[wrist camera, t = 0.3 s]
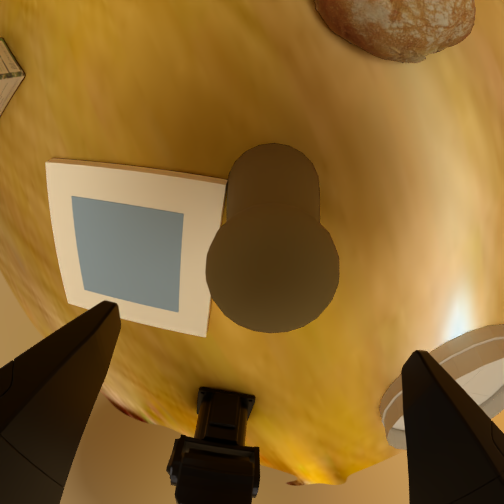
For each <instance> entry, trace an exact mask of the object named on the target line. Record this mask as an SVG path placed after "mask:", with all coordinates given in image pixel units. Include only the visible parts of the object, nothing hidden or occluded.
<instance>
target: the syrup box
mask: <svg viewBox="0 0 504 504" xmlns="http://www.w3.org/2000/svg"><path fill="white" fill-rule="evenodd" d="M24 77H25V74H24V73H23V71H22V69H21V68H20V66H19V65H18V63H17V62H16V60H15V58H14V57H13V55H12V54H11V52H10V50H9V49H8V47H7V45H6V44H5V42H4V40H3V39H2V38H0V115H1V114H2V112H3V110H4V109H5V107H6V105H7V104H8V102H9V100H10V99H11V97H12V95H13V94H14V92H15V90H16V89H17V87H18V86H19V84H20V83H21V81H22V80H23V78H24Z"/></svg>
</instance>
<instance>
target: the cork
mask: <svg viewBox="0 0 504 504" xmlns="http://www.w3.org/2000/svg"><path fill="white" fill-rule="evenodd" d="M205 275H206V282H207V285H208V289H209V292H210V295H211V297H212V299H213V300H214V301H215V303H216V304H217V305H218V307H219V308H220V309H221V311H222V312H223V313H224V315H225V316H227V317H228V318H229V319H231V320H232V321H233V322H235V323H236V324H238V325H240V326H242V327H245V328H248V329H250V330H253V331H258V332H265V333H279V332H288V331H291V330H295V329H298V328H301V327H304V326H305V325H307V324H308V323H310V322H312V321H313V320H315V319H316V318H318V316H319V315H320V314H321V313H322V312H323V311H324V309H325V308H326V307H327V306H328V305H329V303H330V302H331V301H332V299H333V297H334V294H335V291H336V289H337V286H338V283H339V256H338V253H337V250H336V248H335V245H334V243H333V241H332V238H331V236H330V234H329V232H328V231H327V230H326V229H325V228H324V227H323V226H322V225H321V224H320V194H319V179H318V175H317V172H316V170H315V168H314V166H313V164H312V163H311V161H310V160H309V159H308V158H307V157H306V156H305V155H304V154H303V153H302V152H300V151H298V150H296V149H294V148H292V147H290V146H287V145H282V144H276V143H272V144H264V145H258V146H256V147H254V148H252V149H250V150H248V151H246V152H245V153H244V154H243V155H242V156H241V157H240V158H239V159H238V160H237V161H235V163H234V165H233V167H232V169H231V171H230V173H229V178H228V186H227V222H226V223H225V224H224V225H223V226H222V227H221V228H220V229H219V230H218V231H217V233H216V235H215V237H214V239H213V241H212V243H211V245H210V247H209V250H208V252H207V256H206V269H205Z"/></svg>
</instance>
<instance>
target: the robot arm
mask: <svg viewBox="0 0 504 504" xmlns="http://www.w3.org/2000/svg"><path fill="white" fill-rule="evenodd" d="M120 329H121V320H120V313H119V307H118V304H117V303H115V302H111V301H107V300H104V301H102V302H100V303H99V304H97V305H95V306H94V307H92V308H91V309H89V310H88V311H86V312H84V313H83V314H81V315H80V316H78V317H77V318H75V319H74V320H72V321H70V322H69V323H67V324H66V325H64V326H63V327H61V328H60V329H58V330H57V331H55V332H54V333H52V334H51V335H49V336H48V337H46V338H45V339H43V340H42V341H40V342H39V343H37V344H36V345H34V346H33V347H31V348H30V349H28V350H27V351H25V352H24V353H22V354H21V355H19V356H18V357H16V358H15V359H14V361H13V360H12V361H10V362H9V363H7V364H6V365H5V366H3V367H2V368H0V504H60V500H61V497H62V493H63V490H64V486H65V483H66V480H67V477H68V474H69V471H70V468H71V465H72V462H73V459H74V457H75V454H76V451H77V448H78V445H79V443H80V440H81V437H82V434H83V432H84V429H85V427H86V424H87V421H88V419H89V416H90V414H91V411H92V409H93V406H94V403H95V401H96V399H97V396H98V393H99V391H100V389H101V387H102V384H103V382H104V379H105V377H106V374H107V371H108V368H109V365H110V361H111V358H112V355H113V352H114V348H115V345H116V342H117V339H118V336H119V333H120ZM401 376H402V398H403V418H404V427H405V436H406V447H407V458H408V473H409V498H410V499H409V500H410V504H504V433H503V432H502V431H501V430H500V429H499V428H498V427H497V426H496V425H495V423H494V422H493V421H491V419H490V418H489V417H488V416H487V414H486V413H485V412H484V411H483V410H482V409H481V408H480V407H479V406H478V404H477V403H476V402H475V401H474V400H473V399H472V398H471V397H470V396H469V395H468V394H467V393H466V391H465V390H464V389H463V388H462V387H461V386H460V385H459V384H458V383H457V382H456V381H455V380H454V379H453V378H452V377H451V376H450V374H449V373H448V372H447V371H446V370H445V369H444V368H443V367H442V366H441V365H440V364H439V363H438V362H437V361H436V360H435V359H434V358H433V357H432V356H431V355H430V354H429V353H428V352H427V351H424V350H416V351H414V352H413V353H412V355H411V356H410V357H409V359H408V360H407V361H406V363H405V364H404V365H403V367H402V372H401ZM254 403H255V397H254V396H250V395H243V394H236V393H230V392H224V391H218V390H213V389H208V388H199V391H198V402H197V414H199V415H198V420H197V425H196V430H195V435H194V438H192V437H187V436H186V435H181V437H180V438H179V439H175V443H174V447H173V451H172V455H171V457H170V460H169V463H168V465H167V470H166V471H167V472H168V474H169V475H170V479H171V485H174V486H176V490H175V498H176V503H177V504H251V502H252V498H255V497H256V495H257V492H258V488H259V481H260V458H259V447H248V446H245V436H246V425H247V420H248V418H249V415H250V413H251V410H252V408H253V405H254Z"/></svg>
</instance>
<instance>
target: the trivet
mask: <svg viewBox="0 0 504 504" xmlns="http://www.w3.org/2000/svg"><path fill="white" fill-rule="evenodd" d="M46 177H47V188H48V198H49V207H50V214H51V222H52V228H53V235H54V241H55V246H56V252H57V257H58V262H59V267H60V271H61V276H62V280H63V285H64V289H65V293H66V297H67V301H68V303H69V304H73V305H76V306H79V307H83V308H86V309H91V308H92V307H94V306H95V305H97V304H99V303H100V302H102V301H104V300H107V301H111V302H115V303H117V304H118V307H119V313H120V318H122V319H126V320H130V321H134V322H138V323H142V324H146V325H150V326H154V327H159V328H163V329H167V330H172V331H176V332H181V333H186V334H191V335H195V336H200V337H205V338H206V334H207V330H208V322H209V314H210V306H211V298H212V297H211V295H210V292H209V289H208V285H207V282H206V275H205V269H206V256H207V252H208V250H209V247H210V245H211V243H212V241H213V239H214V237H215V235H216V233H217V231H218V230H219V229H220V228H221V223H222V216H223V210H224V203H225V196H226V190H227V183H228V180H226V179H220V178H214V177H208V176H202V175H195V174H189V173H182V172H175V171H168V170H161V169H154V168H146V167H138V166H130V165H121V164H112V163H103V162H93V161H82V160H71V159H58V158H52V159H50V160H48V161H47V162H46Z"/></svg>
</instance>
